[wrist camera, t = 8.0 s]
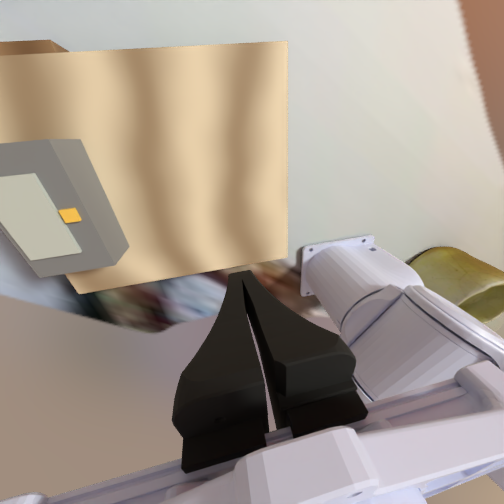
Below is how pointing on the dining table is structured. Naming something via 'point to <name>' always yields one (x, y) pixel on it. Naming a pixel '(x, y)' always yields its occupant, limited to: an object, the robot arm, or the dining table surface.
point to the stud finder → (57, 208)
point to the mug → (463, 281)
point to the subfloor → (166, 147)
